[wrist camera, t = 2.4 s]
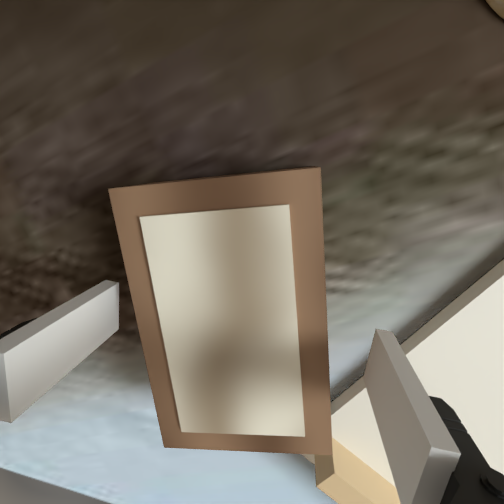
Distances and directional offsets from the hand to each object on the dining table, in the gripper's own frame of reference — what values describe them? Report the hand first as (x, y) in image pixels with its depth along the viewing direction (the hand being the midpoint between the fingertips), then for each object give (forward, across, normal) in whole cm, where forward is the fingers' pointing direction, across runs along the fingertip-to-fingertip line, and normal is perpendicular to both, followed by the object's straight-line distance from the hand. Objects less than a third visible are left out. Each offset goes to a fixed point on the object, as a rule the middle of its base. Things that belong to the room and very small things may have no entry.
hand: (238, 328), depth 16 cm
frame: (+4, 0, 0) cm, 4 cm away
